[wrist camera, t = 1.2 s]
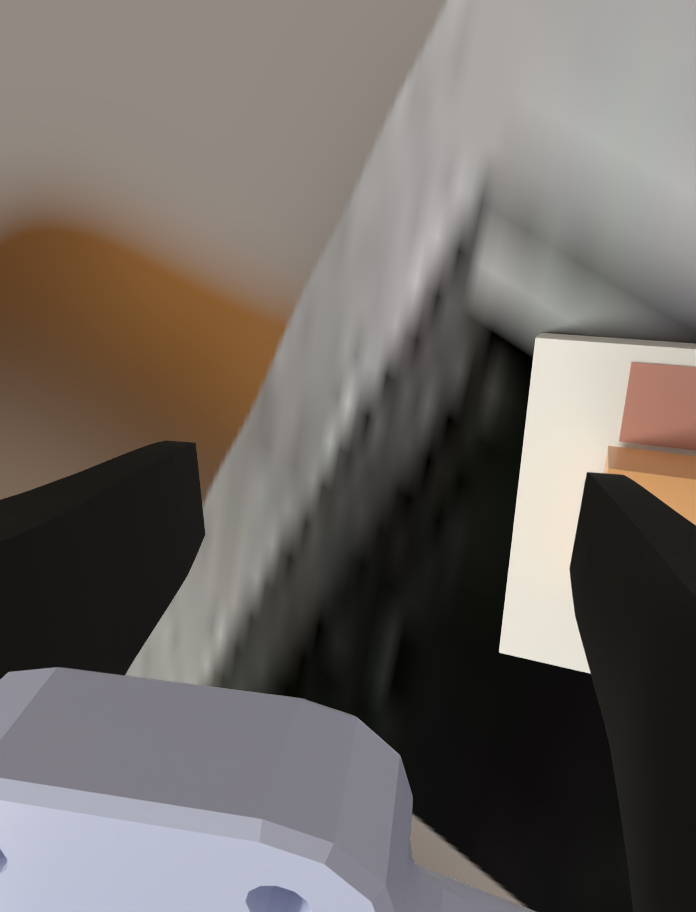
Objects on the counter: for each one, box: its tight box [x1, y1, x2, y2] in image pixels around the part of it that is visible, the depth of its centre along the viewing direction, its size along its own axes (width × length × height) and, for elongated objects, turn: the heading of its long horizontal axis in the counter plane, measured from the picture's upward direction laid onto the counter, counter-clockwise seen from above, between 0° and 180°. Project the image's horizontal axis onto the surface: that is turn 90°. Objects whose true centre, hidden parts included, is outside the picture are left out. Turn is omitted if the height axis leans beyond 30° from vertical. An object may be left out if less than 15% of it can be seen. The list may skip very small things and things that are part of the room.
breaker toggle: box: [604, 446, 696, 525], centre depth 19 cm, size 5×3×3 cm, turn 178°
